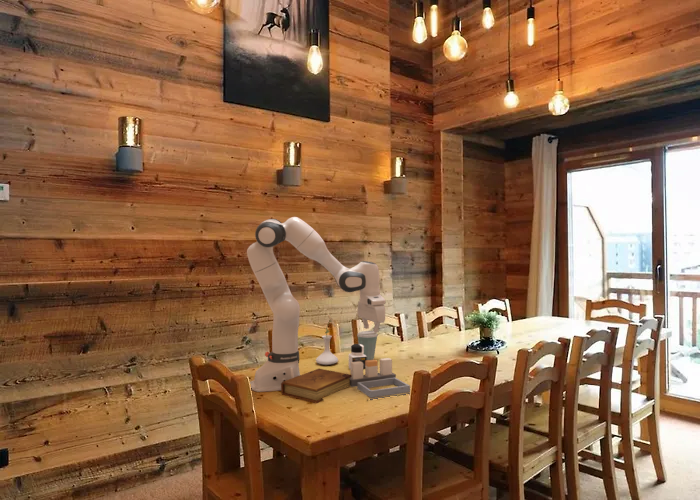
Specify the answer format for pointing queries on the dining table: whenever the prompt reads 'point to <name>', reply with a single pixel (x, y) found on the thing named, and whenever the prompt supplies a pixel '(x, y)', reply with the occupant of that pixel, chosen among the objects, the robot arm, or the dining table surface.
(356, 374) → the block
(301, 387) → the diary
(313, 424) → the dining table surface
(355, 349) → the medicine bottle
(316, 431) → the dining table surface
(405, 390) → the tray
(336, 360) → the flower in vase
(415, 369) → the dining table surface
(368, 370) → the marked fuse
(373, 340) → the disposable coffee cup
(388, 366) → the block
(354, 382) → the fuse block
